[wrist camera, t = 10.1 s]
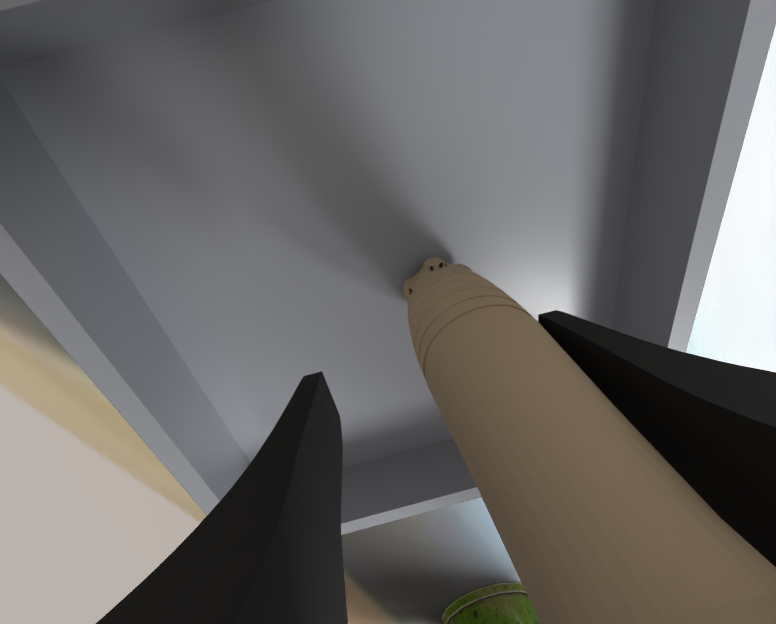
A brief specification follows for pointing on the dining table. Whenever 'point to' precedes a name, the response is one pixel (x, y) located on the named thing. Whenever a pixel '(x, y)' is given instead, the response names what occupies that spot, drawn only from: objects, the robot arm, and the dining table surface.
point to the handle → (573, 472)
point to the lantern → (492, 606)
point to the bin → (353, 199)
